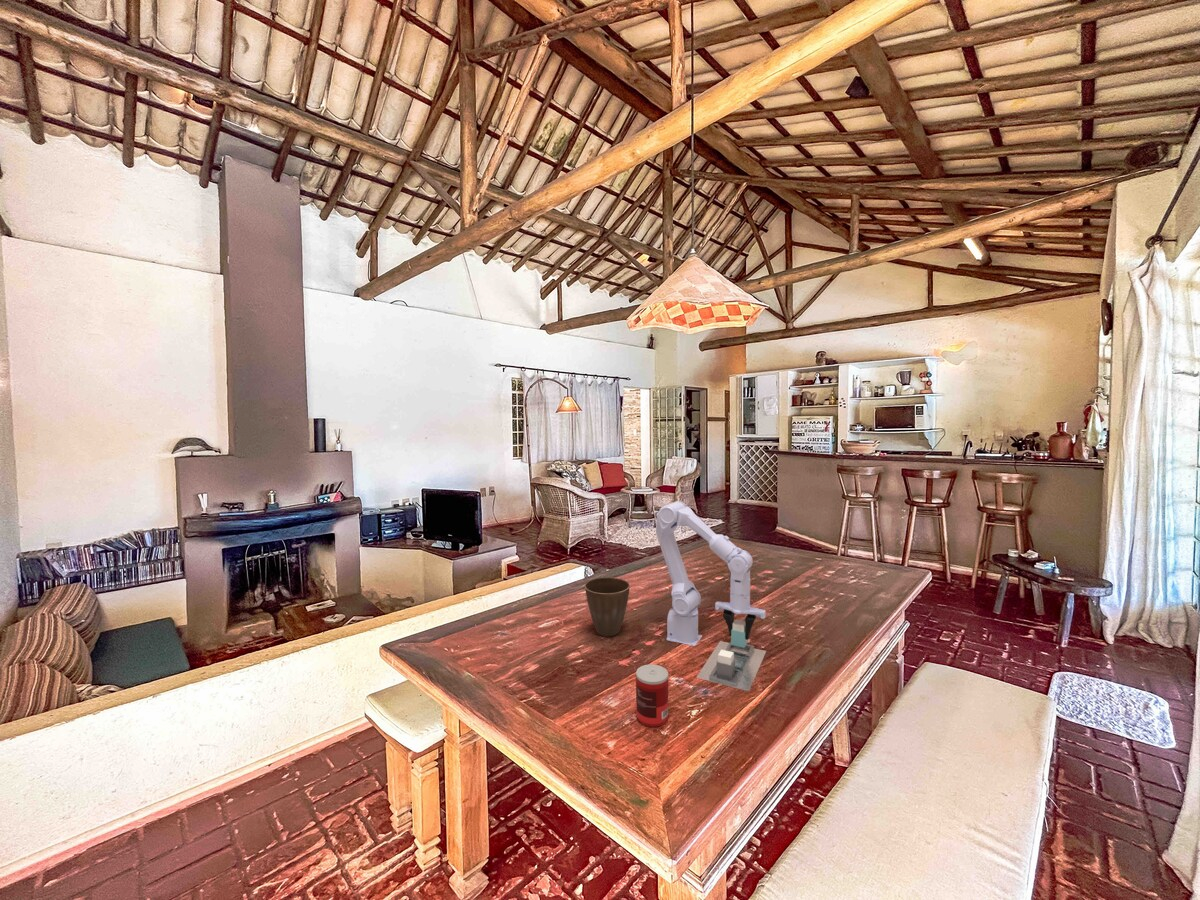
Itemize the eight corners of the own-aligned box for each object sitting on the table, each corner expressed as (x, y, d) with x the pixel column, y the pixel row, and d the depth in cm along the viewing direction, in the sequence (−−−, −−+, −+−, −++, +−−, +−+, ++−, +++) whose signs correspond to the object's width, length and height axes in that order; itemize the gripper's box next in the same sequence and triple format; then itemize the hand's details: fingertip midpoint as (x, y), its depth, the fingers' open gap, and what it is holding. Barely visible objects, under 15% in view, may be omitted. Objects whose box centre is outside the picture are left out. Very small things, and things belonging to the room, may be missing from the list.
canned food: (665, 706, 118) (665, 663, 117) (671, 727, 110) (671, 681, 109) (634, 707, 118) (634, 664, 117) (638, 728, 110) (637, 682, 109)
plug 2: (731, 644, 143) (731, 623, 143) (734, 639, 146) (734, 618, 146) (744, 647, 141) (744, 626, 141) (747, 642, 145) (747, 621, 144)
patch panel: (696, 678, 130) (696, 673, 130) (720, 642, 151) (720, 637, 151) (748, 692, 123) (748, 687, 123) (766, 652, 144) (766, 647, 144)
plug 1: (716, 678, 129) (716, 655, 129) (720, 671, 133) (720, 648, 132) (731, 682, 127) (731, 658, 127) (735, 675, 131) (735, 652, 130)
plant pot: (626, 644, 150) (626, 594, 149) (580, 640, 153) (580, 591, 152) (632, 624, 165) (632, 578, 164) (590, 620, 168) (590, 576, 167)
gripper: (712, 592, 143) (711, 636, 144) (762, 601, 136) (761, 647, 137) (718, 585, 149) (718, 627, 150) (767, 593, 142) (766, 637, 143)
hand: (739, 636), depth 144 cm, fingers closed on plug 2, 4 cm apart
